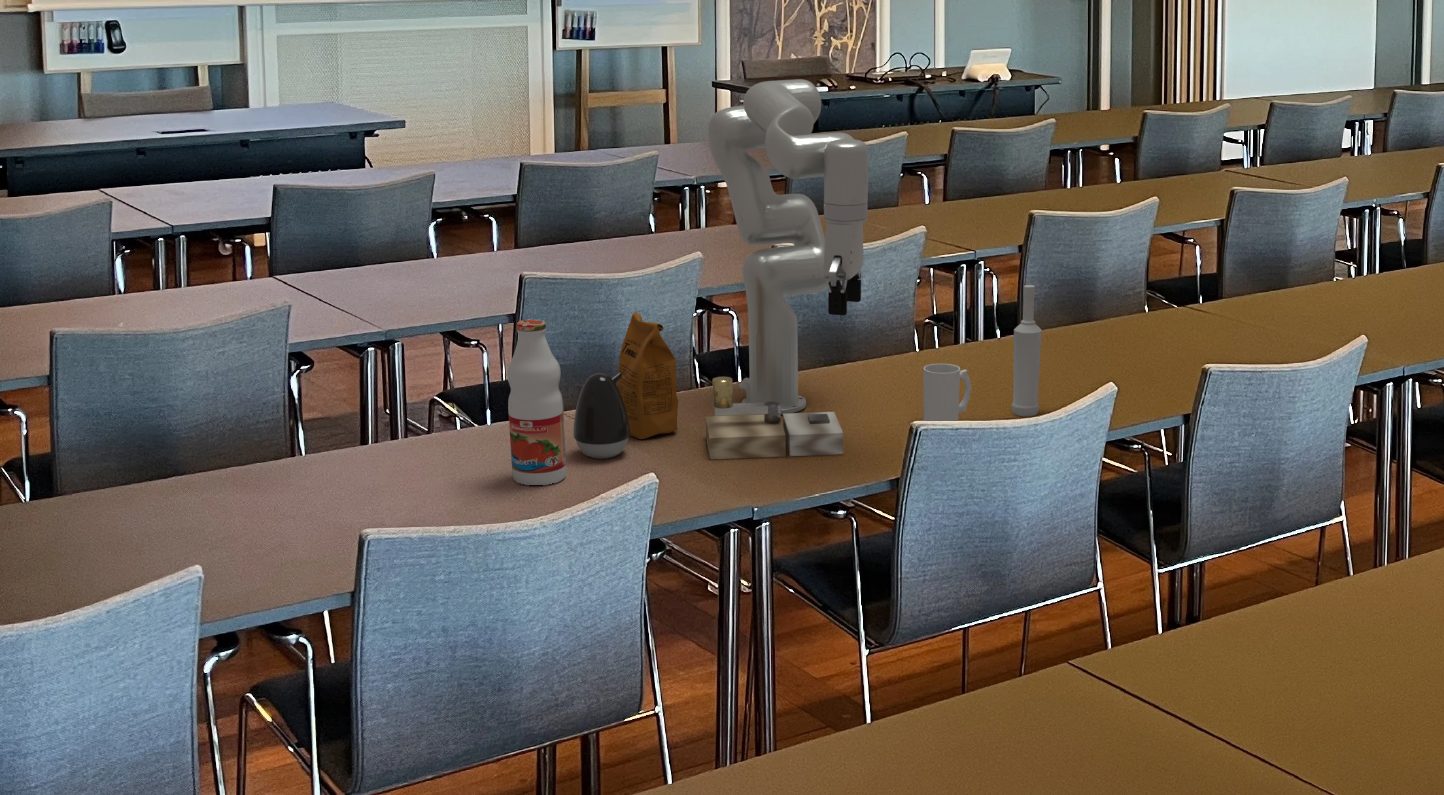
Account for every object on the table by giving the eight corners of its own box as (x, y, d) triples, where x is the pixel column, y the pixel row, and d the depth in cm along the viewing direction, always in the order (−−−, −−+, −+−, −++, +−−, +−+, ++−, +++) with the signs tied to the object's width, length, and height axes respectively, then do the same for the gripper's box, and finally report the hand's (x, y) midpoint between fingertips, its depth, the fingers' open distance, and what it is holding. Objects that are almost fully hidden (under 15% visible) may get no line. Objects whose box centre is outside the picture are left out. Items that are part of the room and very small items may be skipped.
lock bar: (779, 417, 306) (779, 374, 304) (781, 423, 303) (781, 379, 300) (713, 419, 305) (712, 377, 303) (714, 425, 302) (713, 382, 300)
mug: (936, 437, 306) (937, 375, 303) (915, 428, 312) (916, 366, 309) (980, 428, 311) (982, 367, 308) (959, 419, 317) (960, 359, 313)
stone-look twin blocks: (709, 459, 297) (709, 434, 296) (706, 437, 310) (705, 413, 308) (843, 454, 298) (843, 429, 297) (834, 432, 311) (834, 408, 310)
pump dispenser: (643, 452, 302) (640, 372, 297) (601, 467, 294) (597, 384, 290) (605, 441, 308) (601, 362, 304) (562, 455, 301) (558, 374, 297)
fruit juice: (576, 472, 292) (568, 317, 284) (551, 489, 284) (542, 330, 276) (528, 466, 295) (519, 313, 287) (502, 483, 287) (492, 326, 279)
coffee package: (659, 417, 322) (655, 307, 316) (684, 435, 311) (681, 321, 305) (611, 425, 318) (606, 313, 312) (634, 442, 307) (630, 327, 301)
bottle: (1042, 411, 321) (1047, 284, 314) (1032, 418, 317) (1036, 290, 309) (1017, 407, 323) (1021, 282, 316) (1007, 414, 319) (1011, 287, 312)
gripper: (837, 201, 297) (837, 295, 302) (811, 220, 281) (810, 318, 286) (878, 204, 294) (877, 297, 299) (854, 223, 279) (853, 321, 284)
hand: (844, 307), depth 293 cm, fingers open, 9 cm apart
